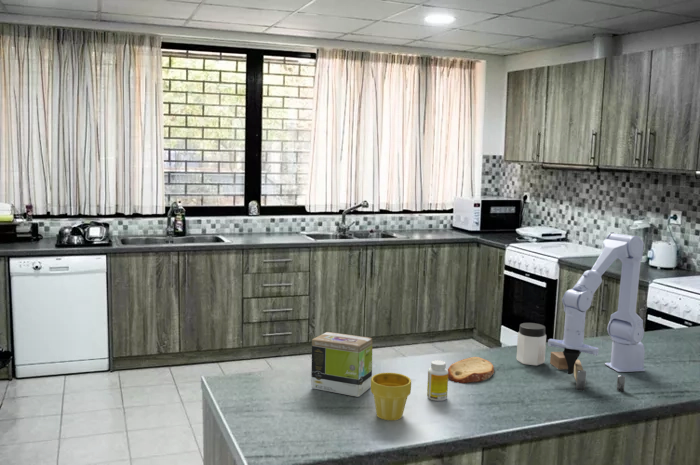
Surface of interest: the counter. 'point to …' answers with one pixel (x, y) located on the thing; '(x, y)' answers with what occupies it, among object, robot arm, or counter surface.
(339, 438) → the counter surface
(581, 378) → the hinge post
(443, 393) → the supplement bottle
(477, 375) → the bread slice
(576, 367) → the gate
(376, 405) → the plant pot
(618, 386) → the post
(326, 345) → the tea box
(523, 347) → the jar
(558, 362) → the block
